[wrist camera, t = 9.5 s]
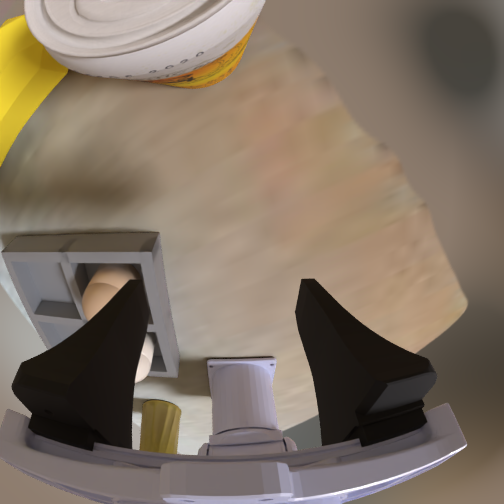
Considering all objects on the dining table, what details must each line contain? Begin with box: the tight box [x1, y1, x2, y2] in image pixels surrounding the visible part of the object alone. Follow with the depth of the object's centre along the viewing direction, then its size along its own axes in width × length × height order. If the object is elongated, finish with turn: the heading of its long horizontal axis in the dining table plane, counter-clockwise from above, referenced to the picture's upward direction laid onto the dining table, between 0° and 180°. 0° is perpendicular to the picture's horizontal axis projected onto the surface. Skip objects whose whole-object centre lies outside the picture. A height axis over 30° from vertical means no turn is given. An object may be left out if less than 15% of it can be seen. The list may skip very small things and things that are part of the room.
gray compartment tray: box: [1, 232, 180, 378], centre depth 24 cm, size 16×16×3 cm
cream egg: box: [135, 332, 156, 383], centre depth 25 cm, size 4×4×6 cm
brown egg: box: [82, 263, 141, 321], centre depth 21 cm, size 4×4×6 cm
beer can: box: [24, 0, 266, 89], centre depth 9 cm, size 6×6×15 cm
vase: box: [140, 400, 181, 454], centre depth 31 cm, size 6×6×14 cm
